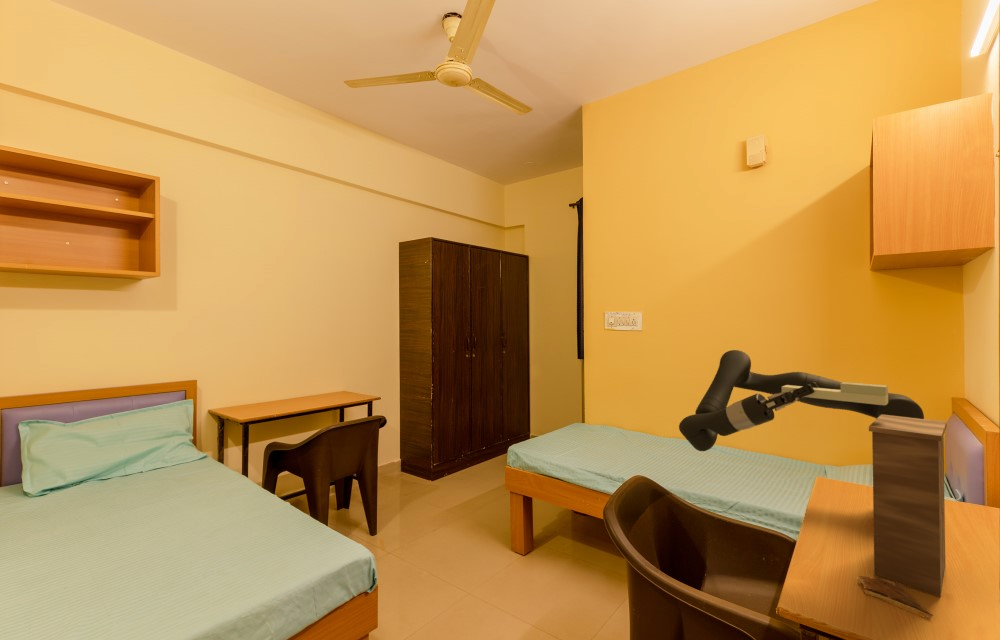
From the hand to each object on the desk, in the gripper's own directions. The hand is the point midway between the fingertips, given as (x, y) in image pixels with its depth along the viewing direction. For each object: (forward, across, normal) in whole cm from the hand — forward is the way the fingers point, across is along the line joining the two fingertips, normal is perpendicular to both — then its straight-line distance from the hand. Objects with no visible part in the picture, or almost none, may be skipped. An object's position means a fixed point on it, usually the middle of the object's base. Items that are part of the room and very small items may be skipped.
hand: (814, 387), depth 108 cm
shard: (-5, -14, +42) cm, 44 cm away
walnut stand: (-4, 0, +42) cm, 42 cm away
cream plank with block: (+2, 0, +4) cm, 4 cm away
